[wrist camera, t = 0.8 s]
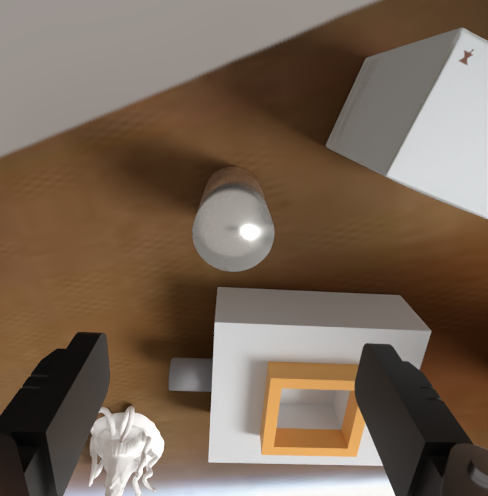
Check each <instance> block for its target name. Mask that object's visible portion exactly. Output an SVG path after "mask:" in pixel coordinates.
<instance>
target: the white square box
mask: <svg viewBox="0 0 488 496" xmlns="http://www.w3.org/2000/svg"><path fill="white" fill-rule="evenodd" d="M430 334H431V330H430V329H429V328H428V326H427V325H426V324H425V323H424V322H423V321H422V320H421V318H420V317H419V316H418V315H417V314H416V313H415V312H414V310H413V309H412V308H411V307H410V306H409V305H408V303H407V302H406V301H405V300H404V299H403V298H402V297H401V295H384V294H362V293H340V292H319V291H297V290H275V289H253V288H232V287H217V299H216V312H215V326H214V348H213V359H206V358H177V357H172V359H171V364H170V371H169V390H170V391H203V392H212V394H211V417H210V439H209V462H221V463H271V464H321V465H370V466H383V464H382V462H381V459H380V457H379V455H378V452H377V450H376V447H375V445H374V443H373V440H372V438H371V435H370V433H369V431H368V428H367V426H366V423H365V421H364V419H363V416H362V414H361V411H360V409H359V407H358V404H357V401H356V398H355V389H354V387H355V379H356V375H357V370H358V366H359V362H360V357H361V353H362V349H363V346H364V345H365V344H366V343H373V344H390V345H392V346H393V347H394V349H395V350H396V352H397V353H398V355H399V356H400V358H401V359H402V361H409V362H410V363H411V364H412V365H414V366H415V367H416V368H417V369H419V370H420V367H421V363H422V360H423V357H424V354H425V351H426V347H427V344H428V341H429V338H430Z"/></svg>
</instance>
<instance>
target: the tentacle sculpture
mask: <svg viewBox="0 0 488 496" xmlns="http://www.w3.org/2000/svg"><path fill="white" fill-rule="evenodd" d="M100 412H102V413H103V414H104V415H105V416H104V417H102V418H99V419H98V420H96V421H95V423H94V425H93V427H92V429H91V434H92V437H91V441H90V455H91V457H92V468H91V475H90V480H89V487H90V486H91V484H92V483H93V479H94V478H96V477H97V476H98V475H99V474H100V472H101V470H102V468H103V466H105V467H104V469H105V470H106V472H107V476H106V481H105V486H104V487H107V488H106V492H105V496H122V494H123V492H124V487H125V486H126V483H127V481H128V479H129V477H130V475H131V474H132V473H133V472H135V476H134V478H133V481H132V485H133V488H134V491H135V494H136V496H142V494H141V491H140V488H139V485H138V480H139V478H140V477H141V476H142V473H143V467H144V466H146V465H147V467H146V471H147V472H146V473H145V474H144V476H143V478H142V481H143V484H144V485H145V486H146V487H147V488H148V489H150V490H152V491H153V492H156V489H155V488H153V487H152V486H151V485H150V484H149V483H148V482H147V478H149V477H151V476H152V475H153V471H152V466H153V465H154V464H155V463H156V462H157V461H158V459H159V458H160V457H161V456H162V452H163V450H164V440H163V438H162V437H161V436H160V432H159V431H158V429H157V428H156V427H155V424H154V423H153V422H151V421H150V420H149V419H148V418H147V417H145V416H143V415H141V414H138V413H134V407H133V406H129V407H128V408H127V409H126V411H125V413H114V414H111V412H110V411H109V409H108V408H106V407H101V408H100V411H99V413H100ZM96 453H97V454H98V455H99V456H100V457H101V458H102V459H101V460H100V462H99V464H97V454H96Z"/></svg>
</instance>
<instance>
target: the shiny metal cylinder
mask: <svg viewBox="0 0 488 496" xmlns="http://www.w3.org/2000/svg"><path fill="white" fill-rule="evenodd" d="M192 235H193V242H194V245H195V248H196V250H197V252H198V253H199V255H200V256H201V257H202V258H203V260H205V261H206V262H207V263H208V264H210V265H211V266H213V267H215V268H217V269H220V270H224V271H230V272H237V271H243V270H247V269H250V268H252V267H254V266H256V265H257V264H259V263H260V262H261V261H262V260H263V259H264V258H265V257H266V256H267V254H268V253H269V251H270V249H271V247H272V244H273V241H274V226H273V222H272V219H271V216H270V213H269V210H268V207H267V204H266V201H265V198H264V195H263V192H262V189H261V186H260V183H259V181H258V180H257V178H256V177H255V176H254V175H253V174H252V173H251V172H250V171H248V170H246V169H244V168H241V167H236V166H230V167H225V168H222V169H220V170H218V171H216V172H215V173H214V174H213V175H212V176H211V177H210V178H209V180H208V182H207V184H206V187H205V190H204V193H203V196H202V199H201V202H200V205H199V208H198V211H197V215H196V218H195V221H194V224H193V231H192Z"/></svg>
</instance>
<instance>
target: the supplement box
mask: <svg viewBox="0 0 488 496" xmlns="http://www.w3.org/2000/svg"><path fill="white" fill-rule="evenodd" d="M326 148H328V149H330V150H332V151H334V152H336V153H338V154H340V155H342V156H344V157H346V158H348V159H351V160H353V161H355V162H357V163H359V164H361V165H363V166H365V167H367V168H369V169H371V170H373V171H375V172H377V173H379V174H381V175H383V176H385V177H387V178H389V179H391V180H393V181H395V182H397V183H399V184H401V185H404V186H406V187H408V188H410V189H412V190H415V191H417V192H419V193H422V194H424V195H426V196H429V197H431V198H434V199H436V200H439V201H441V202H444V203H446V204H449V205H451V206H454V207H456V208H459V209H461V210H464V211H467V212H469V213H472V214H475V215H477V216H480V217H483V218H486V219H488V41H487V40H485V39H483V38H481V37H479V36H477V35H475V34H473V33H472V32H470V31H468V30H467V29H465V28H458V29H455V30H452V31H449V32H446V33H442V34H439V35H436V36H433V37H430V38H427V39H423V40H420V41H417V42H414V43H411V44H408V45H404V46H401V47H398V48H395V49H392V50H389V51H386V52H383V53H379V54H376V55H373V56H370V57H367V58H366V59H365V61H364V63H363V65H362V67H361V69H360V71H359V74H358V76H357V78H356V80H355V82H354V84H353V87H352V89H351V91H350V93H349V95H348V97H347V100H346V102H345V104H344V106H343V108H342V110H341V113H340V115H339V117H338V119H337V121H336V123H335V126H334V128H333V130H332V132H331V134H330V137H329V139H328V141H327V143H326Z"/></svg>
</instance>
